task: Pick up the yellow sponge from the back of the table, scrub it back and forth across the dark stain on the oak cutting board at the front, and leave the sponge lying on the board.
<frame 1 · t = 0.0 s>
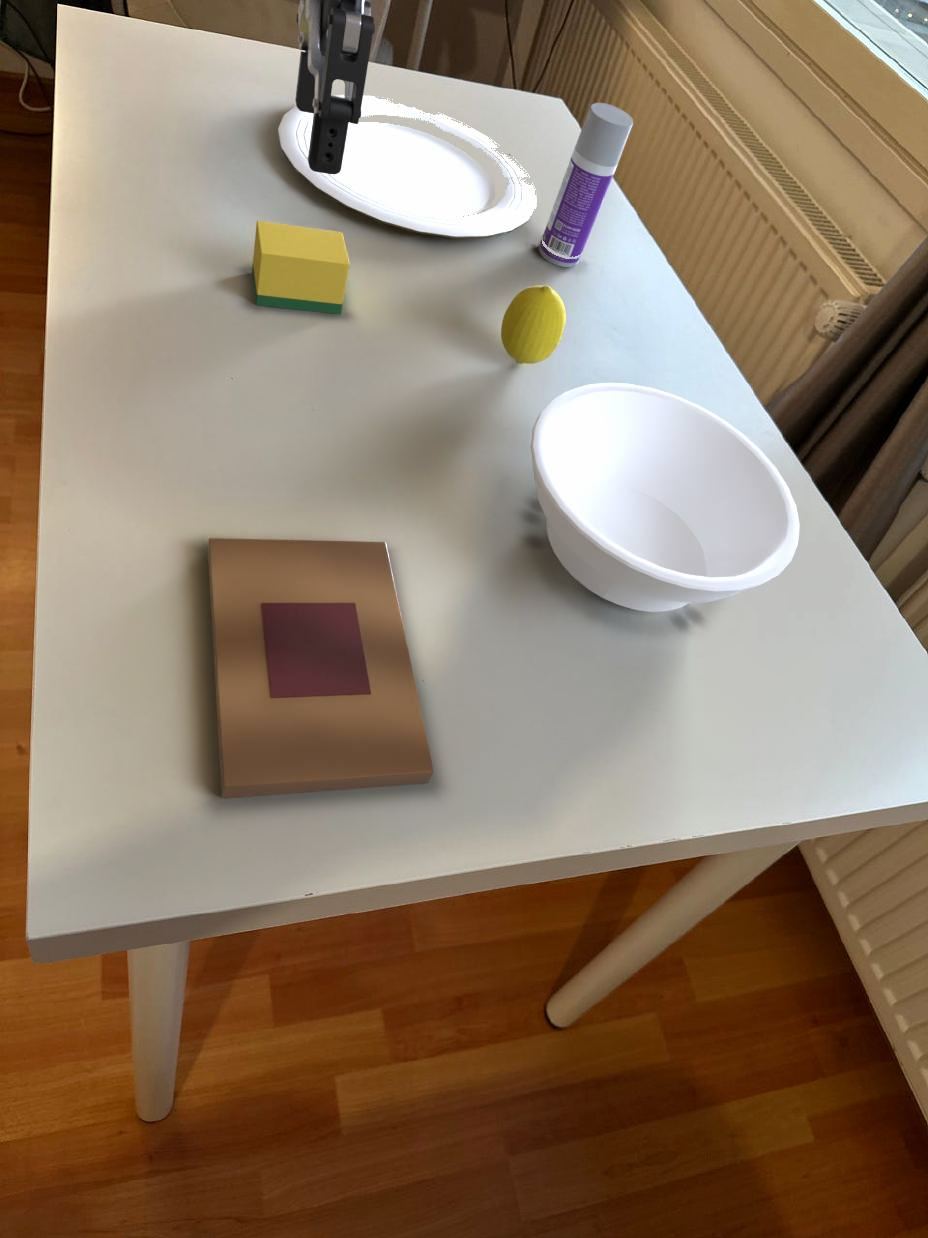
hand: (316, 139, 62), 17 cm above the table, tool pointing down, fingers open, 8 cm apart
bowl: (622, 551, 70), on the table
plate: (408, 177, 98), on the table
board: (312, 661, 56), on the table
sponge: (296, 293, 79), on the table
container: (557, 256, 97), on the table
lemon: (518, 364, 82), on the table
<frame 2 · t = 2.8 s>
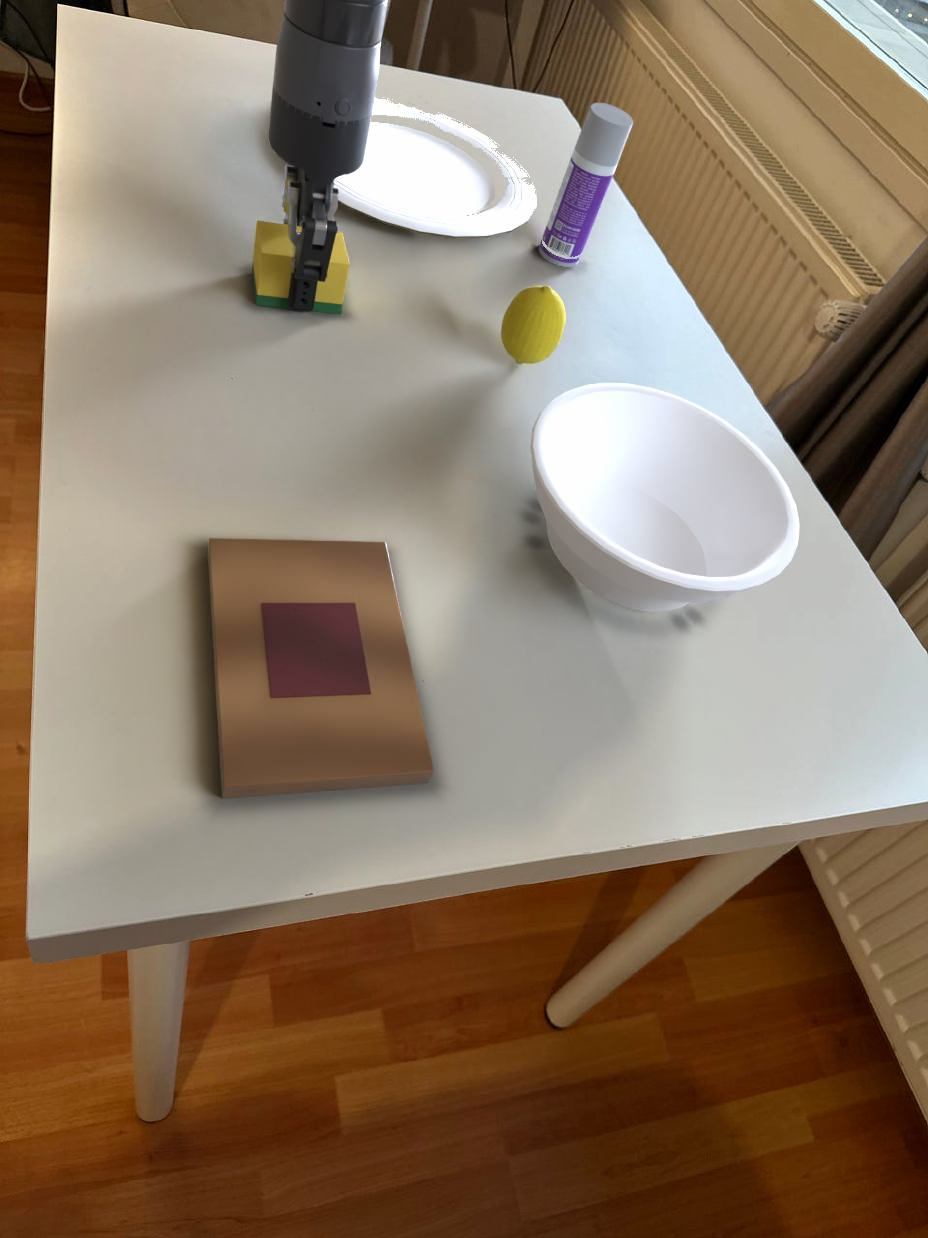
hand: (296, 289, 79), 0 cm above the table, tool pointing down, fingers closed on sponge, 5 cm apart
sponge: (296, 293, 79), on the table, touching gripper
everything else where it was.
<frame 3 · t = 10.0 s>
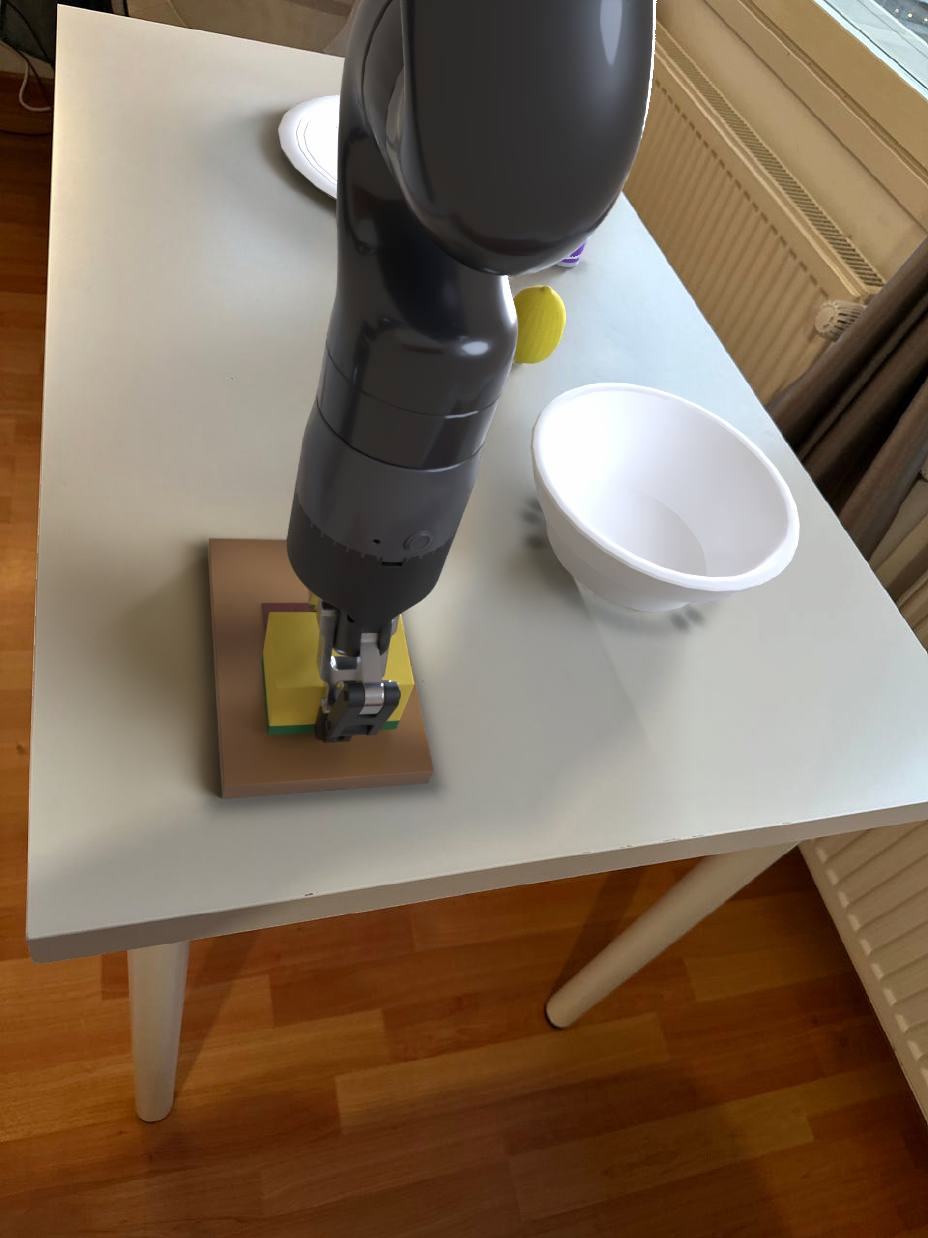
hand: (327, 692, 52), 2 cm above the table, tool pointing down, fingers closed on sponge, 5 cm apart
sponge: (328, 695, 52), point 2 cm above the table, touching gripper
everything else where it was.
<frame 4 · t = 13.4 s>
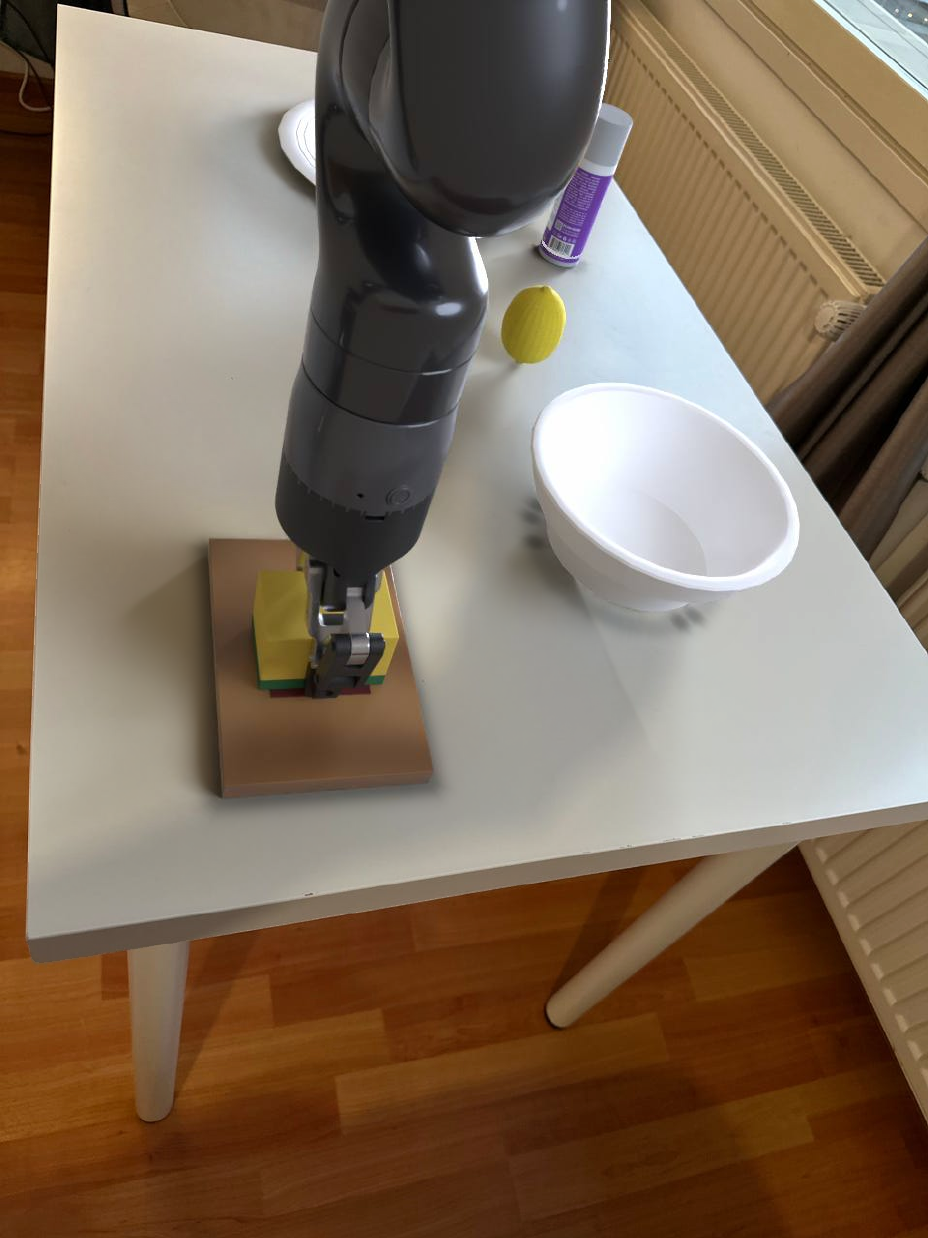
hand: (315, 652, 54), 2 cm above the table, tool pointing down, fingers closed on sponge, 5 cm apart
sponge: (316, 653, 54), point 2 cm above the table, touching gripper
everything else where it was.
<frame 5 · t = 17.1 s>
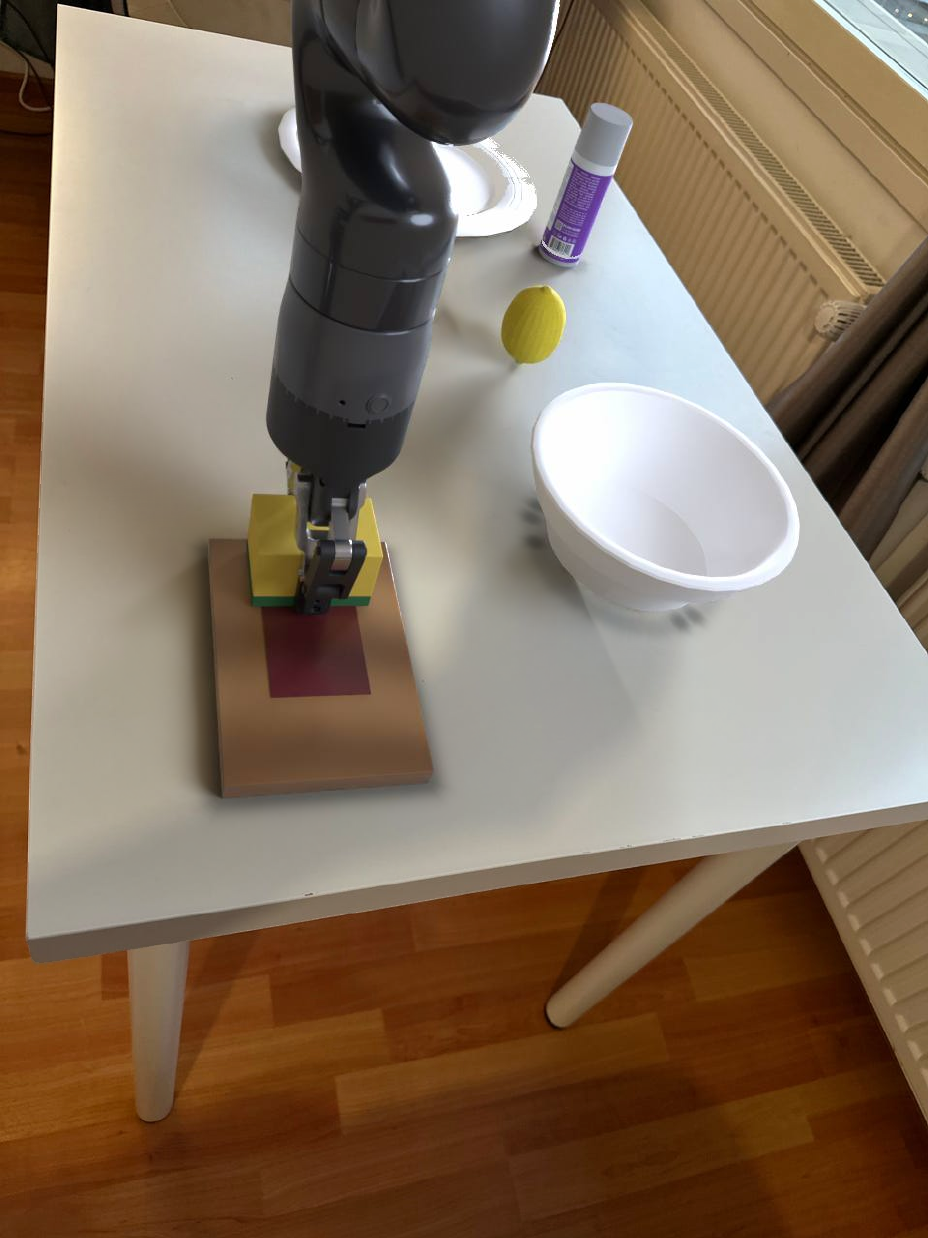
hand: (305, 575, 57), 2 cm above the table, tool pointing down, fingers closed on sponge, 5 cm apart
sponge: (307, 576, 58), point 2 cm above the table, touching gripper
everything else where it was.
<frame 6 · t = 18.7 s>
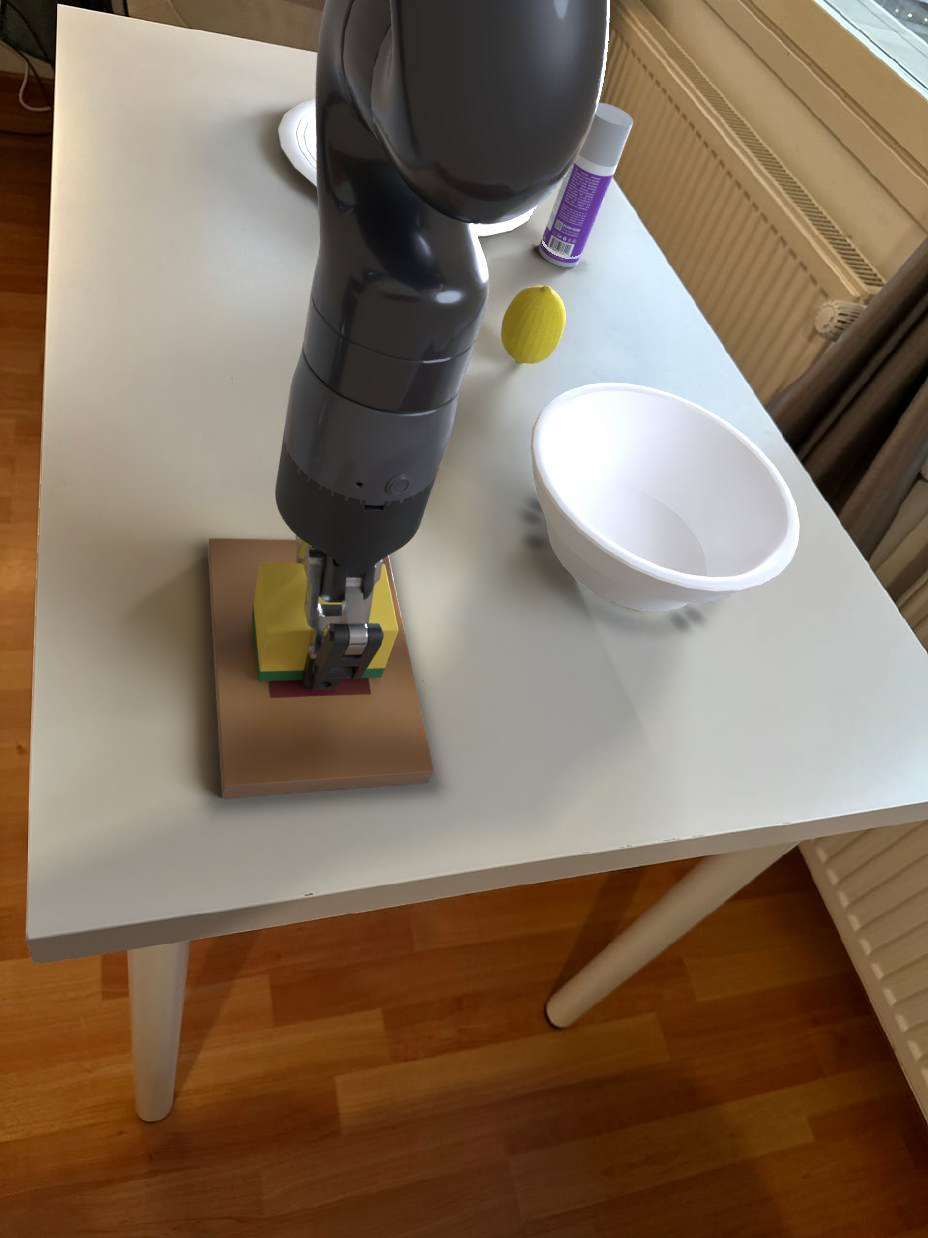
hand: (315, 645, 54), 2 cm above the table, tool pointing down, fingers closed on sponge, 5 cm apart
sponge: (316, 645, 54), point 2 cm above the table, touching gripper
everything else where it was.
when the fingers open (2 cm above the table, at t = 21.6 s): sponge stays where it is, resting on board.
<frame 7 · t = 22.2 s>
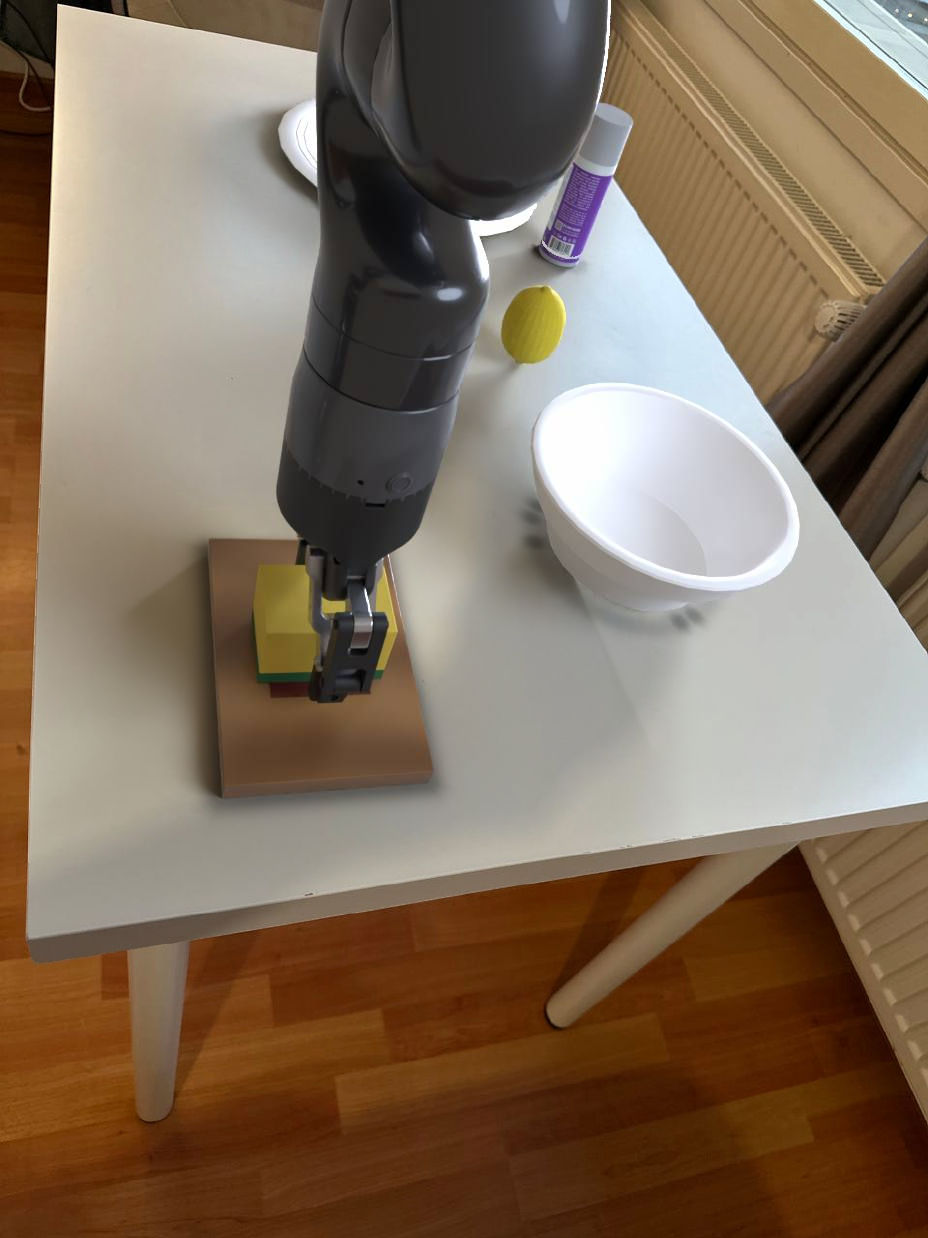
hand: (318, 636, 54), 3 cm above the table, tool pointing down, fingers open, 8 cm apart
sponge: (316, 647, 54), point 2 cm above the table, touching board
everything else where it was.
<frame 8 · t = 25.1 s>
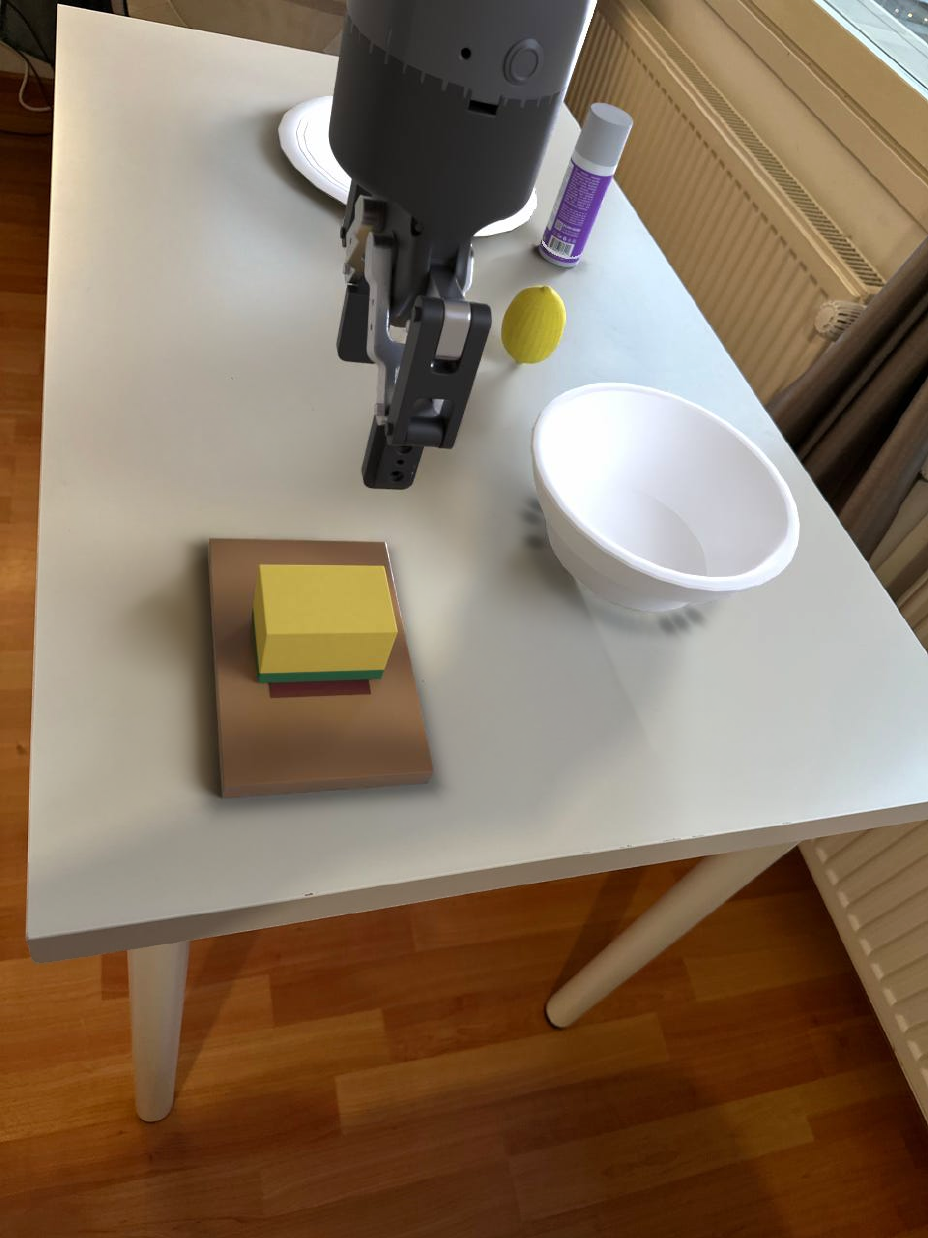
hand: (370, 417, 40), 20 cm above the table, tool pointing down, fingers open, 8 cm apart
nothing on the table moved.
at the end: sponge inside the target area on the board (0.0 cm from its centre), point 1.6 cm above the board's base; sponge moved 40.1 cm from its start; the gripper is holding nothing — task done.
